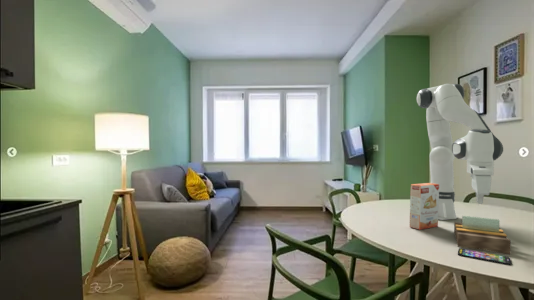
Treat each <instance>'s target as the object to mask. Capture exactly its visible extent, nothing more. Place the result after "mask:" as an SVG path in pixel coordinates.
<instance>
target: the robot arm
mask: <svg viewBox="0 0 534 300" xmlns="http://www.w3.org/2000/svg"><path fill="white" fill-rule="evenodd" d="M464 97H465V88H464V86H462V84H459V83H444V84H441V85H437V86H432V87H428V88H422V89H420V90H419V91H418V92H417V94H416V103H417V105H418V107H419V108H422V109H425V110H426V111H425V112H426V114H425V117H426V128H427V134H428V140H429V143H430V148H431V151H430V152H429V171H430V172H429V173H430V183H434V184H439V206H438V221H439V220H441V221H446V220H456V219H457V218H458V217H457V212H456V209H455V208H456V207H455V202H456V201H455V200H456V194H455V189H454V187H455V185H454V184H455V176H454V175H455V174H454V173H455V172H454V170H455V169H454V161H455V159H458V160H464V161H465V160H466V173H467V174H470V175H469V176H470V178H471V189H472V190H473V191H474V192H475V197H476V203H477V204H481V205H482V204H484V196H489V195H490V192H491V185H492V177H493V176H494V172H495V169H494V168H495V167H494V166H495V162H494V161H496V160H498V159H499V158H500V157H501V156H502V154H503V153H504V146H503V143H502V142H501V140H500V139H498V137H496V136H495V135H494V133H493V132H492V131H491V129H490V127H489V126H488V124H487V123H486V122H485V120H484V119H483V117H482V116H481V115H480V114H479V112H477V111H476V110H475V109H473V108H471V107H470V106H469V105H468V104H467V103H466V101H465V100H464ZM451 123H457V124H461V125H464V126H466V127H469V128H470V130H468V132H467V134H466V135H464V136H463V137H460V138H456V139H455V141H453V136H452V128H451Z"/></svg>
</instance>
